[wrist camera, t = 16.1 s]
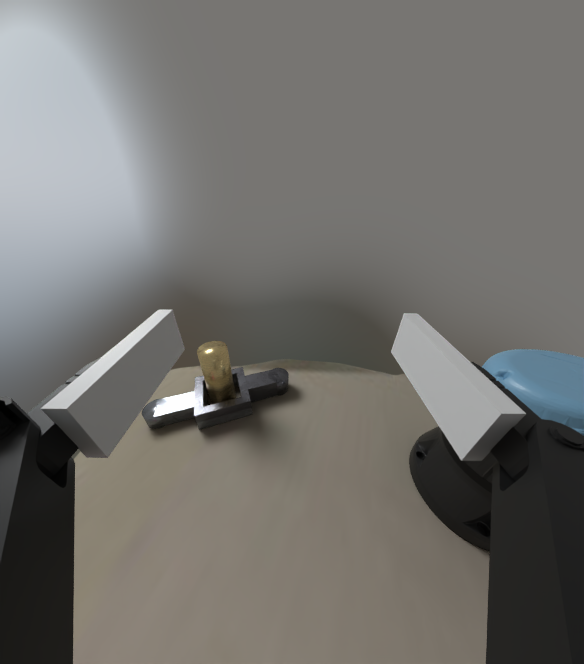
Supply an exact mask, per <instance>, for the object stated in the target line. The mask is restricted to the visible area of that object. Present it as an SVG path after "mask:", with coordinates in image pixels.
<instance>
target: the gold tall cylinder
mask: <svg viewBox="0 0 584 664" xmlns="http://www.w3.org/2000/svg"><path fill="white" fill-rule="evenodd" d="M197 354H198V358H199V361H200V365H201V368H202V372H203V375H204V379H205V382H206V386H207V390H208V393H209V397H210V400H211V404H216V403H220V402H224V401H228V400H232V399H236V393H235V388H234V382H233V377H232V371H231V366H230V361H229V355H228V349H227V345H226V344H225V343H224V342H221V341H211V342H207V343H205V344H203V345H201V346H200V347H199V348H198V350H197Z"/></svg>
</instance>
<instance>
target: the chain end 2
mask: <svg viewBox="0 0 584 664" xmlns="http://www.w3.org/2000/svg"><path fill="white" fill-rule="evenodd" d="M231 371H232V377H233V381H234V380H238V383H239V388H240V393H241V397H239V398H236V399H232V400H228V401H224V402H220V403H216V404H212V405H208V406H205V387H207V386H206V382H205V379H204V376H200V377H195V400H194V417H195V420H196V423H198V422H202V421H205V420H209V419H213V418H216V417H220V416H223V415H227V414H231V413H234V412H238V411H242V410H245V409H249V408H252V407H251V402H254V401H258V400H262V399H265V398H269V397H273V396H276V395H283V394H285V393H286V392H287V391H288V372H287V371H286V370H285V369H282V368H275V369H272V370H269V371H265V372H260V373H256V374H252V375H247V376H245V375H244V371H243V367H241V368H237V369H232V370H231Z"/></svg>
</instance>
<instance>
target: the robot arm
mask: <svg viewBox="0 0 584 664" xmlns="http://www.w3.org/2000/svg"><path fill="white" fill-rule="evenodd" d="M184 349H185V348H184V345H183V342H182V339H181V335H180V332H179V329H178V326H177V323H176V320H175V317H174V313H173V310H158V311H157V312H155V313H154V314H153V315H152V316H151V317H149V318H148V319H147V320H146V321H145V322H143V323H142V324H141V325H140V326H139V327H137V328H136V329H135V330H134V331H133V332H131V333H130V334H129V335H128V336H127V337H126V338H124V339H123V340H122V341H121V342H119V343H118V344H117V345H116V346H115V347H113V348H112V349H111V350H110V351H109V352H108V353H106V354H105V355H104V356H103V357H102V358H99V359H97V360H95V361H93V362H91V363H90V364H88V365H86V366H85V367H84V368H82V369H81V370H80V371H79V372H77V373H76V374H75V376H73V377H71V378H70V379H69V380H68V381H66V384H63V385H62V386H60V387H59V388H58V389H56V390H55V391H54V392H53V393H51V394H50V395H49V396H48V397H47V398H45V399H44V400H43V401H42V402H40V403H39V404H38V405H37V406H35V407H34V408H33V409H32V410H31V411H29V412H28V413H27V414H26V413H25V412H24V411H23V410H22V409H21V408H20V407H19V406H18V405H17V404H16V403H15V402H14V401H13V400H12V399H11V398H8V397H0V664H73V598H74V504H75V463H74V460H73V459H72V458H71V456H72V455H73V454H74V453H75V452H76V451H77V449H80V451H81V452H82V453H83V454H84V455H85V456H86V457H93V458H108V457H109V455H110V454H111V452H112V451H113V449H114V448H115V447H116V445H117V444H118V442H119V441H120V440H121V438H122V437H123V435H124V434H125V433H126V431H127V430H128V428H129V427H130V426H131V424H132V423H133V421H134V420H135V418H136V417H137V416H138V414H139V413H140V411H141V410H142V409H143V407H144V406H145V404H146V403H147V402H148V400H149V399H150V397H151V396H152V395H153V393H154V392H155V390H156V389H157V388H158V386H159V385H160V383H161V382H162V380H163V379H164V378H165V376H166V375H167V373H168V372H169V371H170V369H171V368H172V366H173V365H174V364H175V362H176V361H177V359H178V358H179V357H180V355H181V354H182V352H183V351H184ZM391 352H392V354H393V356H394V357H395V359H396V360H397V362H398V363H399V365H400V366H401V368H402V369H403V371H404V373H405V374H406V376H407V377H408V379H409V380H410V382H411V383H412V385H413V387H414V388H415V390H416V391H417V393H418V394H419V396H420V397H421V399H422V401H423V402H424V404H425V405H426V407H427V408H428V410H429V411H430V413H431V414H432V416H433V418H434V419H435V421H436V422H437V424H438V425H439V426H438V427H436V428H434V429H432V430H430V431H428V432H426V433H424V434H423V435H422V436H420V437H419V438H418V440H417V441H416V443H415V444H414V446H413V448H412V450H411V453H410V459H409V464H410V471H411V475H412V478H413V481H414V483H415V485H416V487H417V489H418V491H419V493H420V495H421V496H422V498H423V499H424V501H425V502H426V504H427V505H428V506H429V508H430V509H431V510H432V511H433V512H434V514H435V515H436V516H437V517H438V518H439V519H440V520H441V521H442V522H443V523H444V524H445V525H446V526H448V527H449V528H450V529H451V530H452V531H454V532H455V533H456V534H458V535H459V536H461V537H462V538H464V539H465V540H467V541H468V542H470V543H472V544H474V545H476V546H478V547H480V548H483V549H485V550H488V551H490V562H489V591H488V620H487V649H486V664H584V358H581V357H577V356H573V355H569V354H564V353H558V352H552V351H545V350H533V349H532V350H525V349H517V350H509V351H504V352H501V353H498V354H496V355H494V356H492V357H490V358H489V359H488V360H487V361H486V362H485V363H484V365H483V366H482V367H480V366H479V365H477V364H475V363H473V362H470V361H468V360H467V359H466V358H465V357H464V356H463V355H462V354H461V353H460V352H459V351H457V350H456V349H455V348H454V347H453V346H452V345H451V344H450V343H449V342H448V341H447V340H446V339H444V338H443V337H442V336H441V335H440V334H439V333H438V332H437V331H436V330H435V329H434V328H433V327H431V326H430V325H429V324H428V323H427V322H426V321H425V320H424V319H423V318H422V317H420V316H419V315H418V314H412V313H411V314H409V313H404V315H403V318H402V321H401V324H400V327H399V330H398V333H397V336H396V339H395V342H394V345H393V348H392V351H391Z"/></svg>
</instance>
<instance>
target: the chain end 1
mask: <svg viewBox="0 0 584 664" xmlns="http://www.w3.org/2000/svg"><path fill="white" fill-rule="evenodd" d="M233 382H234V387H237V386H239V383H238V380H234V381H233ZM239 390H240V388H239ZM207 394H208V390H207V387H205V406H207ZM240 394H241V393H240ZM194 400H195V391H194V392H189V393H185V394H181V395H177V396H172V397H168V398H164V399H157V400H154V401H152V402H150V403H148V404H147V405H146V406H145V407H144V409H143V410H142V416H143V417H144V419H145V421H146V423H147V424H148V426H149V427H150V428H153V429H156V428H160V427H163V426H165V425H169V424H172V423H176V422H180V421H183V420H187V419H191V418H195V417H194ZM248 415H252V408H249V409H245V410H242V411H238V412H234V413H231V414H227V415H223V416H220V417H216V418H213V419H209V420H205V421H202V422H198V423H197V425H198V428H199V429H203V428H206V427H210V426H213V425H217V424H220V423H224V422H227V421H231V420H234V419H238V418H241V417H245V416H248Z"/></svg>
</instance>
